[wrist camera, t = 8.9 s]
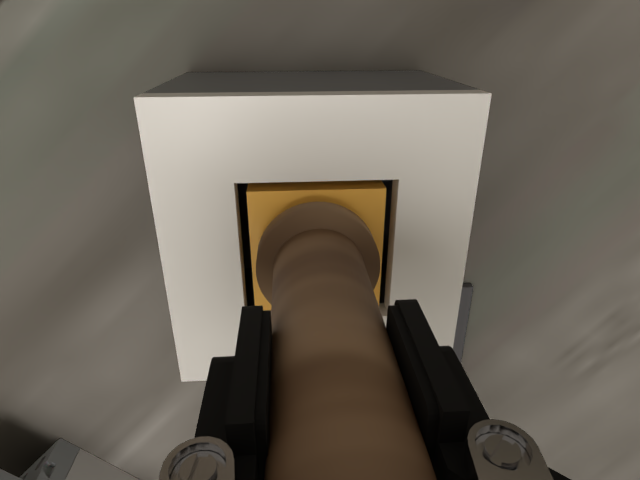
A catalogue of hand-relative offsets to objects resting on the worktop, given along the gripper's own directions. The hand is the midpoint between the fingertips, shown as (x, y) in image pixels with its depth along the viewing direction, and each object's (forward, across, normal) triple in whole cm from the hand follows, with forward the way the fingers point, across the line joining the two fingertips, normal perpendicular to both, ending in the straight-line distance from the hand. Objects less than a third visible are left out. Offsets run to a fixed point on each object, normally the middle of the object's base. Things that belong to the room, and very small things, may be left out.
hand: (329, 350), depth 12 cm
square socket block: (+15, 0, 0) cm, 15 cm away
